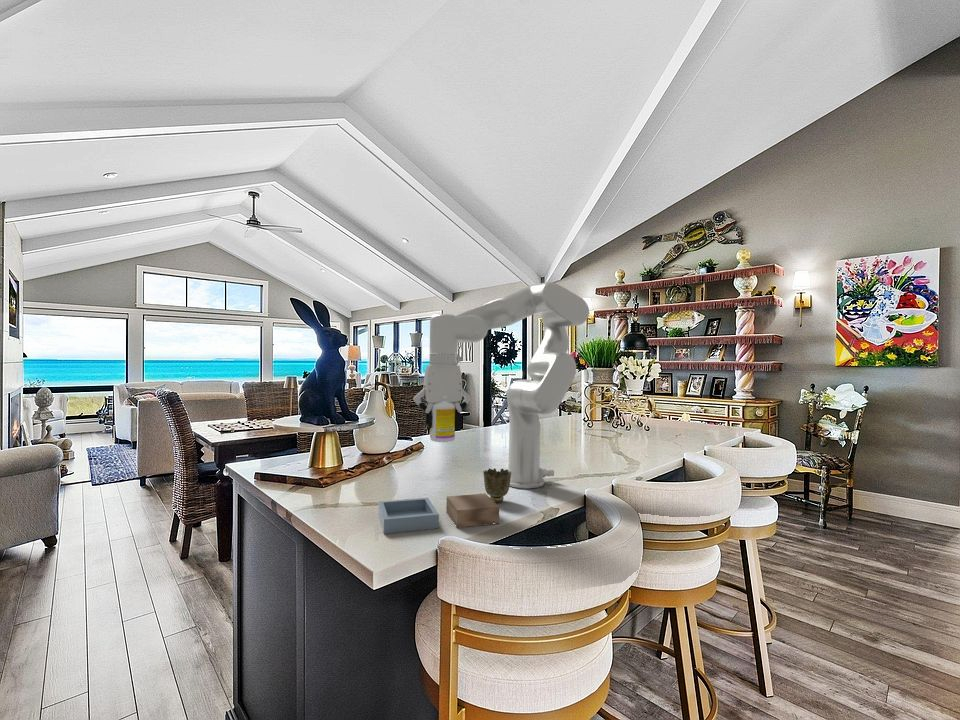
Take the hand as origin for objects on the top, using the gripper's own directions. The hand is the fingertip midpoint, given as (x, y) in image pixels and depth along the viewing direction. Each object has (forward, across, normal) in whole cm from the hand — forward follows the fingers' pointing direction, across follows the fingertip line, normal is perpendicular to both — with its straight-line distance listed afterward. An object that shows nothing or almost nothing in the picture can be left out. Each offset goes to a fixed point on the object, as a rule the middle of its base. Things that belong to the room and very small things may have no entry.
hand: (442, 426), depth 119 cm
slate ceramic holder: (+19, +11, +14) cm, 26 cm away
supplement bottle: (+4, 0, 0) cm, 4 cm away
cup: (+20, -14, +6) cm, 25 cm away
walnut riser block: (+19, -4, +16) cm, 25 cm away
